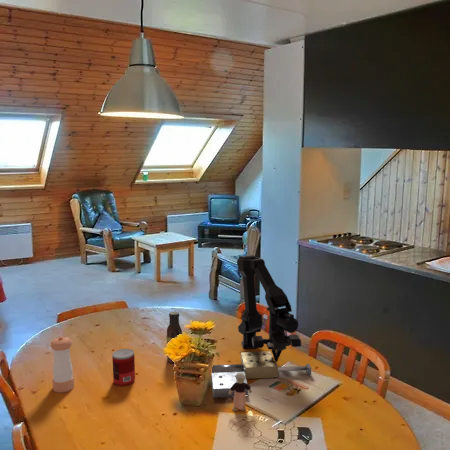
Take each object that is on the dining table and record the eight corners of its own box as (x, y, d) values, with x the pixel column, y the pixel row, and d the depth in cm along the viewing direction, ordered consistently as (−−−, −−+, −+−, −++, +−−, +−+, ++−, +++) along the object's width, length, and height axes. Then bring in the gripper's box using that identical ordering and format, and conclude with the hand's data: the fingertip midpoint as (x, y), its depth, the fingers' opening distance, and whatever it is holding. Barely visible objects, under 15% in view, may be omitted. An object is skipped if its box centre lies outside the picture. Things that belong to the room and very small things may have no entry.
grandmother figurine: (231, 413, 151) (231, 376, 149) (227, 407, 155) (227, 371, 153) (253, 410, 154) (253, 373, 152) (249, 404, 157) (249, 368, 155)
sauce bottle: (179, 364, 186) (179, 316, 183) (164, 363, 187) (163, 315, 184) (184, 357, 192) (183, 310, 189) (169, 356, 194) (169, 309, 190)
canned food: (139, 377, 175) (138, 350, 173) (127, 388, 168) (126, 359, 166) (121, 374, 178) (120, 347, 176) (109, 384, 170) (108, 356, 168)
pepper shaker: (54, 394, 163) (51, 342, 160) (51, 385, 170) (48, 334, 167) (76, 389, 167) (73, 338, 164) (72, 380, 173) (69, 331, 170)
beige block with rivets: (240, 359, 190) (240, 348, 189) (270, 358, 191) (270, 348, 190) (245, 378, 174) (245, 367, 173) (277, 377, 175) (278, 366, 174)
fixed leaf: (211, 375, 177) (210, 363, 177) (308, 371, 180) (308, 359, 180) (213, 397, 161) (213, 384, 160) (320, 393, 164) (320, 380, 163)
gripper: (255, 332, 175) (255, 372, 177) (305, 331, 176) (304, 370, 179) (251, 322, 186) (251, 359, 188) (298, 320, 187) (297, 357, 190)
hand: (275, 361), depth 186 cm, fingers closed
